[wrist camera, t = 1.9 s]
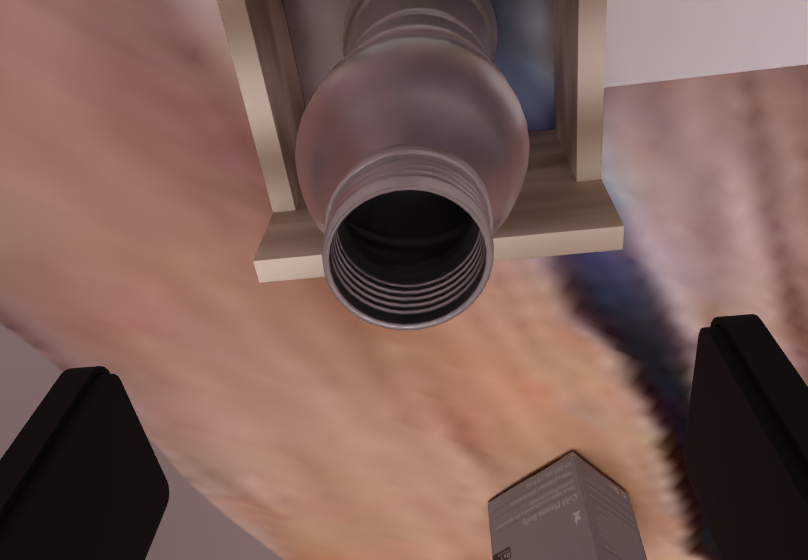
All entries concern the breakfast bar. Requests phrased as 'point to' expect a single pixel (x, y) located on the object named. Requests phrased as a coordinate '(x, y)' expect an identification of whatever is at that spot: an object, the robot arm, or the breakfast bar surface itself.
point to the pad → (701, 38)
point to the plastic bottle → (412, 159)
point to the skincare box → (565, 517)
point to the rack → (549, 149)
